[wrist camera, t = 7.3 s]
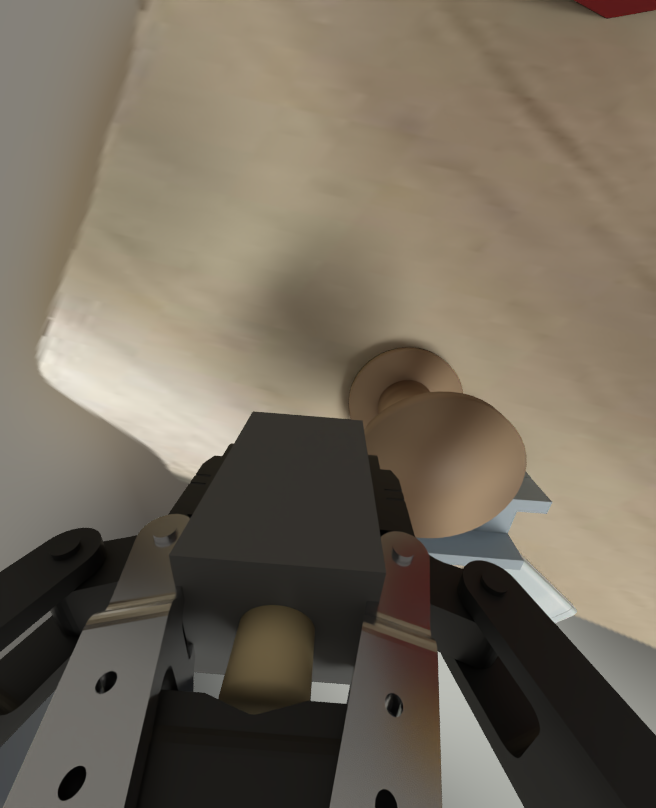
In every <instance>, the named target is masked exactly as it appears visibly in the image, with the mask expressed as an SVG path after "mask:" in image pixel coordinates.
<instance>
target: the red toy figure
mask: <svg viewBox="0 0 656 808" xmlns="http://www.w3.org/2000/svg"><path fill="white" fill-rule="evenodd" d="M575 1H576V2H578V3H580V4H582V5H584V6H585V7H587V8H589V9H591V10H592V11H594V12H596V13H598V14H600V15H601V16H603V17H605V18H607V19H608V18H613V17H619V16H624V15H630V14H636V13H641V12H647V11H653V10H656V0H575Z"/></svg>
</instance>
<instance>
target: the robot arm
mask: <svg viewBox="0 0 656 808" xmlns="http://www.w3.org/2000/svg"><path fill="white" fill-rule="evenodd" d="M233 445H234V444H230V445H229V446H228V448H227V449H226V451H225V453H224V454H223V456H213V457H212V458H210V459H209V460H208V461H206V462H205V463H203V464H202V466H201V467H200V469H199V470H198V472H197V473H196V476H194V478H193V479H192V480H191V483H190V484H189V485H188V487H187V488H186V489H185V491H184V492H183V494H182V495H181V497H180V498H179V499H178V501H177V503H176V504H175V505H174V507H173V508H172V510H171V511H170V513H169V514H168V515H165V516H162V517H159V518H156V519H154V520H152V521H151V522H149V523H148V524H147V525H145V526H144V527H143V528H142V529H141V530H140V532H139V533H138V535H136V536H132V537H126V538H121V539H115V540H109V541H104V542H103V540H102V537H101V535H100V533H99V532H98V531H96V530H95V529H92V528H78V529H73V530H70V531H66V532H64V533H61V534H59V535H57V536H55V537H53V538H52V539H50V540H48V541H47V542H45V543H44V544H42V545H41V546H39V547H38V548H36V549H34V550H33V551H32V552H30V553H28V554H27V555H25V556H24V557H22V558H21V559H19V560H18V561H16V562H15V563H13V564H12V565H10V566H9V567H7V568H6V569H4V570H3V571H1V572H0V651H2V650H3V649H4V648H5V647H7V646H8V645H9V644H10V643H11V642H13V641H14V640H15V639H16V638H17V637H19V636H20V635H21V634H22V633H23V632H25V630H27V629H28V628H29V627H31V626H32V625H33V624H34V623H35V622H37V621H38V620H39V619H40V618H41V617H42V616H44V615H45V614H46V613H47V612H49V611H51V613H52V616H51V617H50V618H49V619H48V620H46V621H45V622H44V623H43V624H42V625H41V626H39V627H38V628H37V629H36V630H35V631H34V632H32V633H31V634H30V635H29V636H28V637H26V638H25V639H24V640H23V641H22V642H21V643H20V644H18V645H17V646H16V647H15V648H14V649H12V650H11V651H10V652H9V653H8V654H6V655H5V656H4V657H3V658H2V659H1V660H0V747H1V746H2V745H3V744H4V743H5V742H6V741H7V740H8V739H9V738H10V737H11V736H12V735H13V734H14V733H15V732H16V730H17V729H18V728H19V727H20V726H21V725H22V724H23V723H24V722H25V721H26V720H27V719H28V718H29V717H30V716H31V715H32V714H33V713H34V712H35V710H36V709H37V708H38V707H39V706H40V705H41V704H42V703H43V702H44V701H45V700H46V699H47V698H48V697H49V696H50V695H51V694H52V693H53V692H54V691H55V690H56V691H55V693H54V695H53V698H52V700H51V702H50V704H49V706H48V709H47V711H46V713H45V715H44V718H43V720H42V722H41V724H40V727H39V728H38V731H37V733H36V735H35V738H34V740H33V742H32V744H31V746H30V748H29V751H28V753H27V755H26V757H25V760H24V762H23V764H22V767H21V768H20V771H19V773H18V775H17V777H16V780H15V782H14V784H13V786H12V789H11V791H10V793H9V795H8V798H7V800H6V802H5V804H4V806H3V808H442V788H441V787H442V785H441V750H440V718H439V717H440V716H439V682H438V652H441V654H442V657H443V659H444V660H445V662H446V664H447V666H448V668H449V670H450V671H451V673H452V675H453V677H454V679H455V681H456V682H457V684H458V686H459V688H460V690H461V692H462V694H463V695H464V697H465V699H466V701H467V703H468V705H469V706H470V708H471V710H472V712H473V714H474V716H475V717H476V719H477V721H478V723H479V725H480V727H481V728H482V730H483V732H484V734H485V736H486V738H487V740H488V741H489V743H490V745H491V747H492V749H493V751H494V752H495V754H496V756H497V758H498V760H499V762H500V763H501V765H502V767H503V769H504V771H505V773H506V774H507V776H508V778H509V780H510V782H511V784H512V786H513V787H514V789H515V791H516V793H517V795H518V797H519V798H520V800H521V802H522V804H523V806H524V808H656V735H655V734H654V733H653V732H652V731H651V730H650V729H649V728H648V726H647V725H646V724H645V723H644V722H643V721H642V720H641V719H640V718H639V716H638V715H637V714H636V713H635V712H634V711H633V710H632V709H631V708H630V706H629V705H628V704H627V703H626V702H625V701H624V700H623V699H622V698H621V697H620V695H619V694H618V693H617V692H616V691H615V690H614V689H613V688H612V687H611V685H610V684H609V683H608V682H607V681H606V680H605V679H604V677H603V676H602V675H601V674H600V673H599V672H598V671H597V670H596V669H595V668H594V667H593V665H592V664H591V663H590V662H589V661H588V660H587V659H586V658H585V656H584V655H583V654H582V653H581V652H580V651H579V650H578V649H577V647H576V646H575V645H574V644H573V643H572V642H571V641H570V640H569V639H568V637H567V636H566V635H565V634H564V633H563V632H562V631H561V630H560V629H559V627H558V626H557V625H556V624H555V623H554V622H553V621H552V620H551V619H550V617H549V616H548V615H547V614H546V613H545V612H544V611H543V610H542V608H541V607H540V606H539V605H538V604H537V603H536V602H535V601H534V600H533V598H532V597H531V596H530V595H529V594H528V593H527V592H526V591H525V590H524V588H523V587H522V586H521V585H520V584H519V583H518V582H517V581H516V580H515V578H514V577H513V576H512V575H511V574H509V573H508V572H507V571H506V570H504V569H503V568H501V567H499V566H498V565H496V564H493V563H491V562H488V561H483V560H475V561H471V562H469V563H468V564H466V566H465V567H464V569H461V568H458V567H455V566H453V565H450V564H447V563H444V562H442V561H439V560H437V559H435V558H434V557H432V556H431V555H429V554H428V551H427V549H426V548H425V546H424V545H423V544H422V543H421V542H420V541H419V540H418V539H417V538H416V537H415V535H414V531H413V527H412V524H411V520H410V517H409V513H408V510H407V506H406V503H405V501H404V496H403V492H402V489H401V485H400V481H399V479H398V478H397V477H396V476H395V474H394V473H393V472H392V471H391V470H383V469H380V466H379V461H378V456H377V455H368V459H369V465H370V472H371V478H372V485H373V491H374V498H375V504H376V510H377V517H378V523H379V530H380V536H381V543H382V549H383V556H384V562H385V568H386V576H385V580H384V584H383V589H382V593H381V597H380V602H376V601H367V602H366V607H365V612H364V617H363V623H362V628H361V633H360V638H359V644H358V649H357V654H356V657H355V662H354V667H353V672H352V677H351V683H350V688H349V693H348V699H347V704H341V703H327V702H315V701H305V702H301V703H298V704H294V705H290V706H286V707H283V708H279V709H275V710H271V711H268V712H264V713H260V714H255V715H254V714H248V713H246V712H244V711H242V710H240V709H238V708H235V707H233V706H231V705H229V704H227V703H225V702H223V701H221V700H219V699H216V698H214V697H212V696H210V695H208V694H206V693H199V692H194V663H195V650H194V644H192V643H187V641H186V636H185V631H184V626H183V622H182V619H183V609H184V603H185V598H184V593H183V588H182V586H175V583H174V578H173V574H172V569H171V564H170V559H169V554H170V552H171V551H172V549H173V547H174V545H175V544H176V542H177V540H178V539H179V537H180V535H181V533H182V532H183V530H184V528H185V527H186V525H187V523H188V522H189V520H190V518H191V516H192V515H193V513H194V511H195V510H196V508H197V506H198V504H199V503H200V501H201V499H202V498H203V496H204V494H205V493H206V491H207V489H208V487H209V486H210V484H211V482H212V481H213V479H214V477H215V475H216V474H217V472H218V470H219V469H220V467H221V465H222V464H223V462H224V460H225V458H226V457H227V455H228V453H229V452H230V450H231V448H232V446H233ZM437 651H438V652H437Z"/></svg>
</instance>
